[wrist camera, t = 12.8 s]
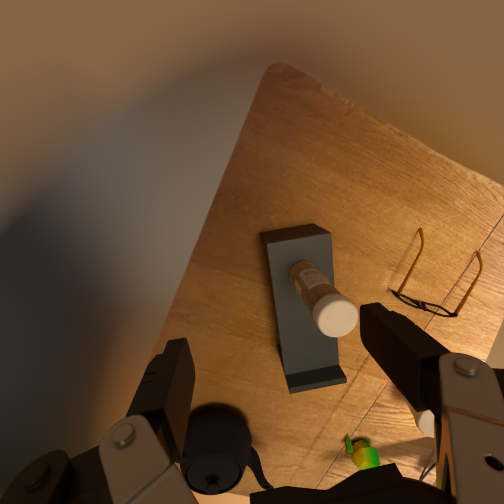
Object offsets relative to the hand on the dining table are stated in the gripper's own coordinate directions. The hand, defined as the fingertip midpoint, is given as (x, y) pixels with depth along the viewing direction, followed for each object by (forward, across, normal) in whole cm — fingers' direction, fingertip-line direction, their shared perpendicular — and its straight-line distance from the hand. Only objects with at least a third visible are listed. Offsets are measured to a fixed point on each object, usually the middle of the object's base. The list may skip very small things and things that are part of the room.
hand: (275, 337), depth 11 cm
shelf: (+34, -8, +17) cm, 39 cm away
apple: (+34, -19, +61) cm, 73 cm away
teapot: (+34, +13, +47) cm, 60 cm away
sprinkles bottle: (+26, -8, +9) cm, 29 cm away
